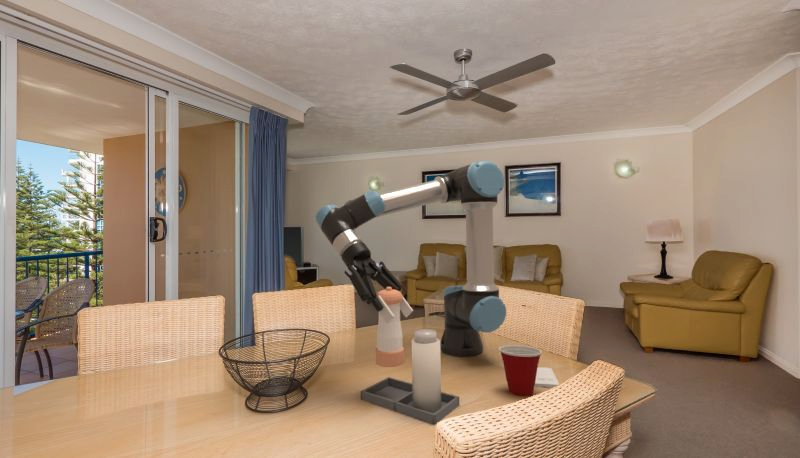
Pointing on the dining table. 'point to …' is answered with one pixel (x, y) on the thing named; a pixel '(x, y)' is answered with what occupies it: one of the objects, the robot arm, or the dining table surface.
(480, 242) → the robot arm
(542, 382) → the external hard drive
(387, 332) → the pepper shaker
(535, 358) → the plastic cup
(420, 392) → the salt shaker
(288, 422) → the dining table surface
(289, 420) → the dining table surface
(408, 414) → the shaker caddy
